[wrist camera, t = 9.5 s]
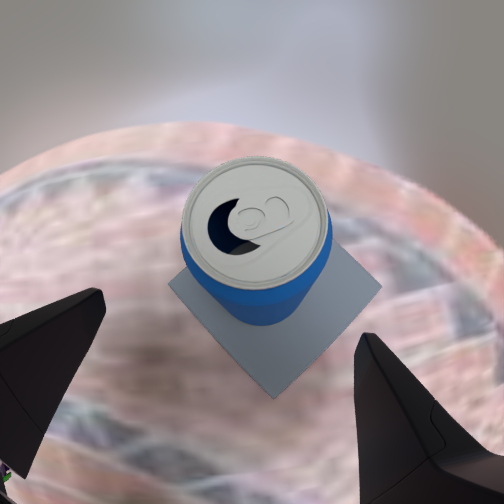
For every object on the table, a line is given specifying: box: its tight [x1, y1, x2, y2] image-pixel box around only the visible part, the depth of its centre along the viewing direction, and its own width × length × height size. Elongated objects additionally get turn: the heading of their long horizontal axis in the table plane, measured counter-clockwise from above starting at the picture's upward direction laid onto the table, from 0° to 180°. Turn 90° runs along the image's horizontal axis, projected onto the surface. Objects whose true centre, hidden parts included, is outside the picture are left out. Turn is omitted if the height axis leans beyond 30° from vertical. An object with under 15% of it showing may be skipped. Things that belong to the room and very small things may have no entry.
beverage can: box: [180, 156, 332, 326], centre depth 17 cm, size 6×6×12 cm
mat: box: [168, 238, 382, 399], centre depth 23 cm, size 12×12×1 cm
